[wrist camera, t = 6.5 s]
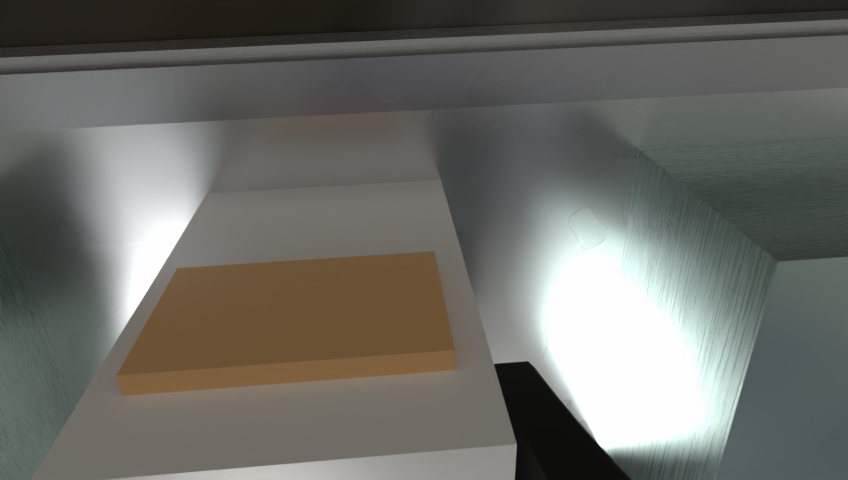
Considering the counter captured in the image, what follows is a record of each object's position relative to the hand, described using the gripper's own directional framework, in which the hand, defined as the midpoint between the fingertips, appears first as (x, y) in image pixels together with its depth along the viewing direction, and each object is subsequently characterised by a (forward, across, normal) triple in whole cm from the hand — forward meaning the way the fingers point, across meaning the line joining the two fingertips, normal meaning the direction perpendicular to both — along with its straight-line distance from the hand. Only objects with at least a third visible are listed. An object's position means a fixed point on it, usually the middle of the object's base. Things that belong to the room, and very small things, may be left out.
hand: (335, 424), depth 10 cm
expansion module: (+2, 0, 0) cm, 2 cm away
